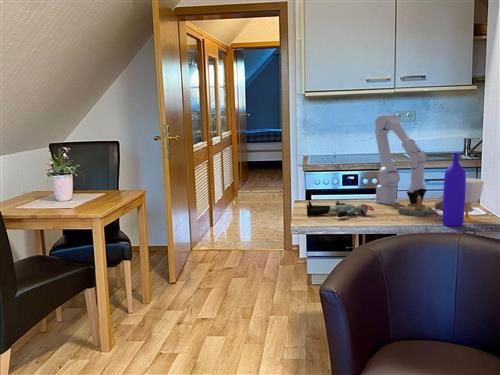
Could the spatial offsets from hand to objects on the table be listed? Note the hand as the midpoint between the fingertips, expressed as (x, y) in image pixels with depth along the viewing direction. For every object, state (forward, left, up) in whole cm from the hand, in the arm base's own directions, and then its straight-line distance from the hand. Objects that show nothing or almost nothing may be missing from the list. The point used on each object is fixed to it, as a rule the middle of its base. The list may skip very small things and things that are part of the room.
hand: (416, 205), depth 244 cm
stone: (+14, +8, -2) cm, 17 cm away
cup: (+26, -9, -2) cm, 28 cm away
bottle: (+25, -23, -2) cm, 34 cm away
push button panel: (+4, -11, -1) cm, 12 cm away
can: (0, 0, -2) cm, 2 cm away
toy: (-23, -31, -2) cm, 39 cm away
